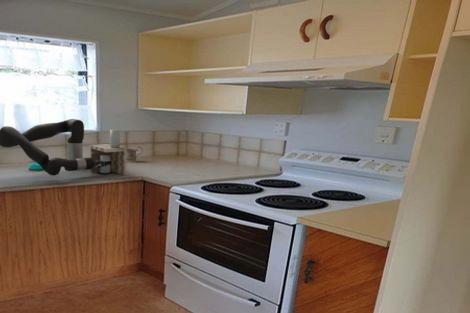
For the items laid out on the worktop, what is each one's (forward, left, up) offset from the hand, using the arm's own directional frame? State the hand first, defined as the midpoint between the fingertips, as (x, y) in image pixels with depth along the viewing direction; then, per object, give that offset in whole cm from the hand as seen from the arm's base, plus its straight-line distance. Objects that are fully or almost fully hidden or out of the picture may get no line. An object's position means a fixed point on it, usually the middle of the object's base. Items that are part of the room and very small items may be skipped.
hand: (108, 161), depth 215 cm
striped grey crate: (0, 0, -8) cm, 8 cm away
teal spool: (-38, -29, -8) cm, 49 cm away
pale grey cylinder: (+5, +2, +10) cm, 11 cm away
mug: (-31, +38, -8) cm, 49 cm away
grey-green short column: (0, -2, -6) cm, 7 cm away
